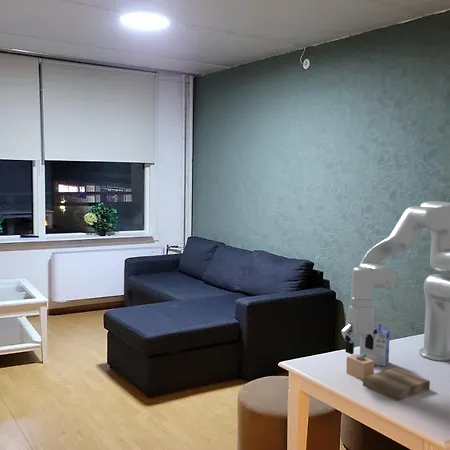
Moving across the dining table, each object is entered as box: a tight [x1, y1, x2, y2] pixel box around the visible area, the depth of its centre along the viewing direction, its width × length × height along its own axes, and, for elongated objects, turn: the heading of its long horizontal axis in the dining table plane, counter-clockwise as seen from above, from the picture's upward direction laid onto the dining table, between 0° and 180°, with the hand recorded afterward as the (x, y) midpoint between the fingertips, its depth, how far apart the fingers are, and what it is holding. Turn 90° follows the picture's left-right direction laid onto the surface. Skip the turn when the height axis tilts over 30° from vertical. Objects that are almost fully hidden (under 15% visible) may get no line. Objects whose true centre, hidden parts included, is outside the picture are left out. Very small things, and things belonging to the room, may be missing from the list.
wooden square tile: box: [362, 367, 431, 401], centre depth 180 cm, size 16×14×3 cm
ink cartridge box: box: [359, 323, 391, 367], centre depth 203 cm, size 10×6×14 cm, turn 62°
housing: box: [345, 353, 375, 381], centre depth 191 cm, size 5×8×7 cm, turn 33°
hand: (359, 350), depth 190 cm, fingers open, 9 cm apart
